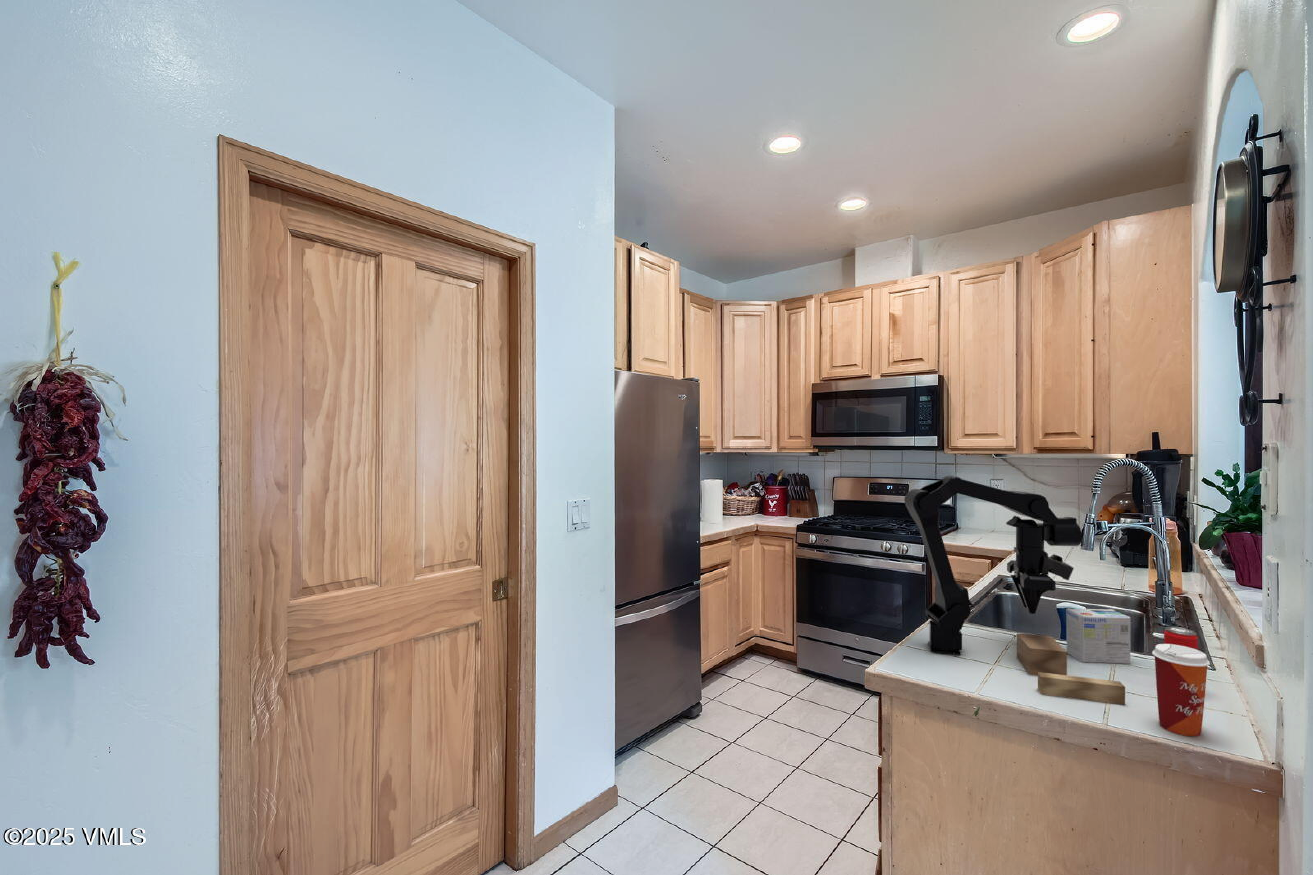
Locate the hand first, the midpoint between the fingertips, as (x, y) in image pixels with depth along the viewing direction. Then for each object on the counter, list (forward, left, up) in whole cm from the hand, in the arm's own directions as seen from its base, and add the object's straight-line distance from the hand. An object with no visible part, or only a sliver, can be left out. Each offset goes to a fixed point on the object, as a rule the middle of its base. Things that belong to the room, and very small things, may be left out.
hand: (1029, 610), depth 142 cm
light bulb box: (+14, +1, -10) cm, 17 cm away
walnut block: (0, -10, -10) cm, 14 cm away
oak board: (+4, -24, -10) cm, 26 cm away
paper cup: (+16, -33, -10) cm, 38 cm away
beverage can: (+24, -13, -10) cm, 29 cm away
